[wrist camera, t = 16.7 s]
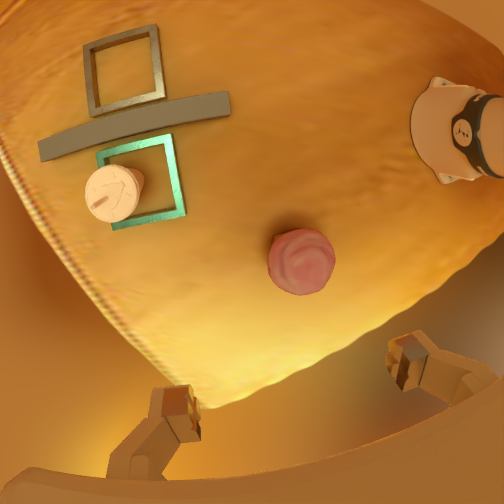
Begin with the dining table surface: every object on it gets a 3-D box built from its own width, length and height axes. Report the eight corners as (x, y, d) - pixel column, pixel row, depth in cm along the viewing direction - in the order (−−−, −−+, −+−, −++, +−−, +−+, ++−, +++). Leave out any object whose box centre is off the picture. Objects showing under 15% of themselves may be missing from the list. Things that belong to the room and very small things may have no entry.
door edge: (226, 95, 36) (227, 90, 33) (229, 116, 38) (231, 114, 34) (50, 140, 35) (37, 141, 31) (54, 159, 36) (41, 162, 32)
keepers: (158, 28, 31) (156, 23, 30) (186, 212, 42) (185, 215, 40) (87, 48, 31) (82, 45, 29) (116, 226, 41) (112, 230, 39)
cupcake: (311, 209, 44) (337, 229, 34) (323, 261, 47) (348, 291, 38) (252, 228, 44) (264, 254, 34) (268, 279, 47) (282, 315, 38)
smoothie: (102, 178, 38) (56, 199, 25) (136, 148, 37) (100, 155, 24) (128, 213, 40) (94, 248, 28) (163, 185, 40) (140, 209, 27)
